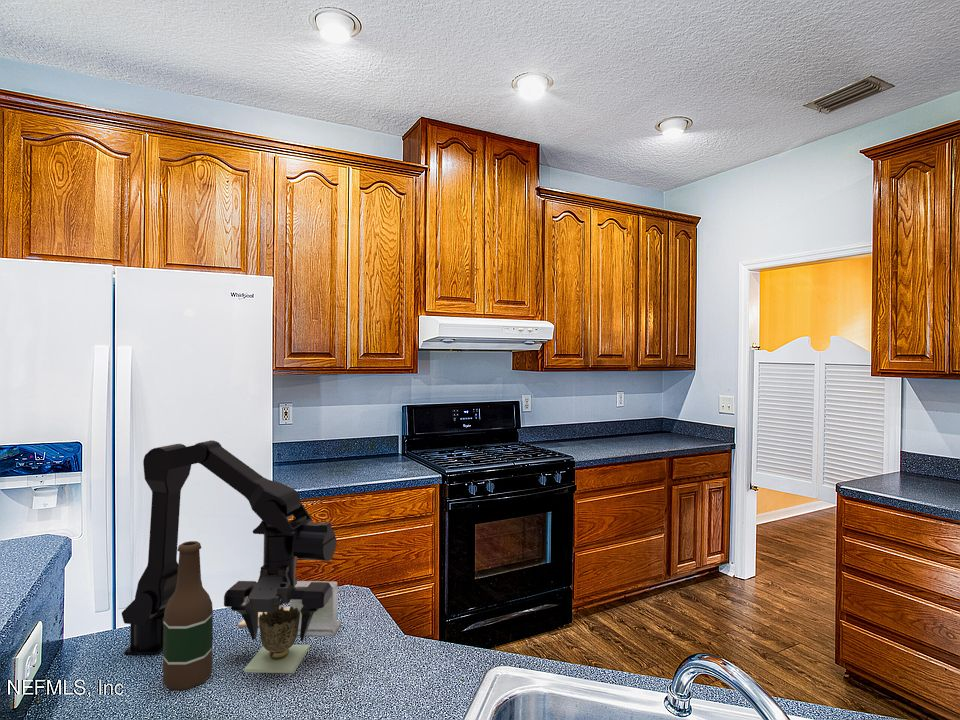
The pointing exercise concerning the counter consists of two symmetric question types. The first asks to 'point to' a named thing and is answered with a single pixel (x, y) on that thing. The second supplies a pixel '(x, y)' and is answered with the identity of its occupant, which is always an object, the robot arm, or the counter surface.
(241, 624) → the oak mat
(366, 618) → the counter surface
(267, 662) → the sage mat
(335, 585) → the box
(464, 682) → the counter surface
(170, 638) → the beer bottle
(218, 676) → the counter surface
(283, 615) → the brown ornate lampshade
